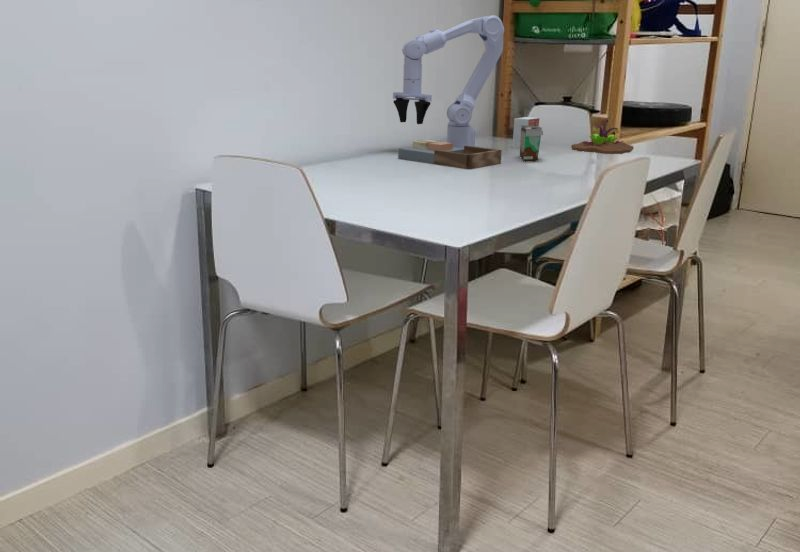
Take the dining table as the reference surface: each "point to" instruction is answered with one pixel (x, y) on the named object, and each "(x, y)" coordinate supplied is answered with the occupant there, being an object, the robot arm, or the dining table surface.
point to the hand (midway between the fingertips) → (411, 123)
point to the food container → (530, 142)
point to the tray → (468, 157)
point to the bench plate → (421, 154)
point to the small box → (517, 128)
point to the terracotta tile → (440, 146)
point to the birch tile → (422, 144)
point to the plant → (603, 143)
